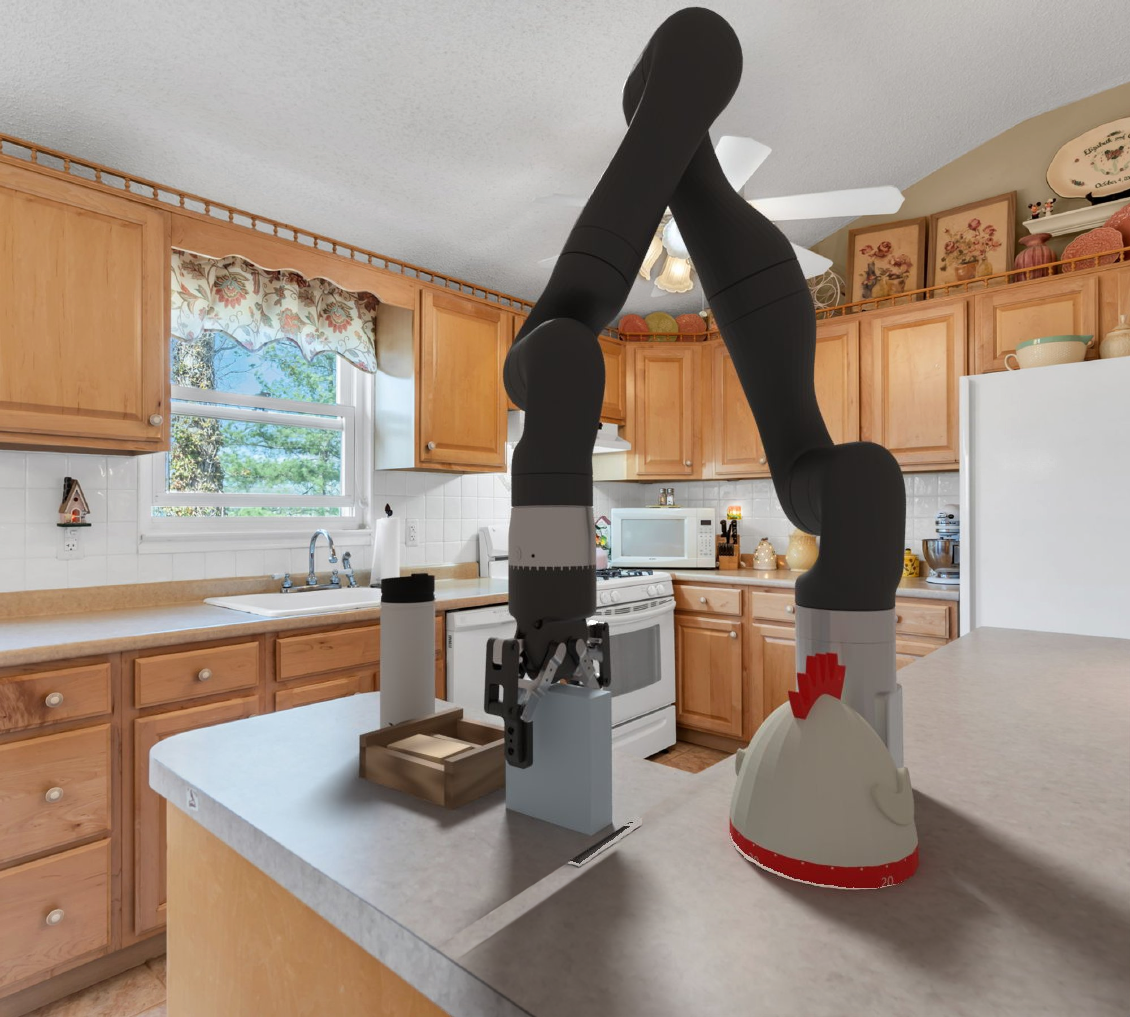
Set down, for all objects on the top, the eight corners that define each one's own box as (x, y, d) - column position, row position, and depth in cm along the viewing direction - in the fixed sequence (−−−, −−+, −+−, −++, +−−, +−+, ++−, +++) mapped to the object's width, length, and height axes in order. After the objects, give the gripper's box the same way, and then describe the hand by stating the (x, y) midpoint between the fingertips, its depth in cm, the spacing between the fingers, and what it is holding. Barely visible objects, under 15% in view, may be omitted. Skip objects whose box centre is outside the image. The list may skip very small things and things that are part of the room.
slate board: (612, 827, 56) (611, 691, 57) (591, 840, 54) (590, 698, 54) (528, 800, 62) (528, 677, 62) (505, 812, 59) (505, 683, 60)
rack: (547, 776, 69) (547, 726, 69) (452, 820, 59) (452, 762, 59) (456, 751, 77) (456, 707, 77) (359, 786, 67) (359, 734, 67)
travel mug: (396, 757, 75) (396, 574, 76) (370, 743, 80) (371, 572, 81) (446, 745, 79) (446, 572, 80) (419, 732, 84) (419, 569, 85)
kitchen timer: (945, 845, 54) (940, 654, 55) (874, 914, 45) (870, 682, 45) (782, 796, 64) (779, 635, 65) (695, 844, 55) (693, 654, 55)
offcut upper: (471, 762, 66) (471, 745, 66) (440, 775, 62) (440, 758, 62) (418, 749, 70) (418, 734, 70) (387, 761, 66) (387, 745, 66)
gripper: (532, 565, 51) (532, 788, 50) (634, 558, 62) (635, 739, 62) (460, 562, 55) (460, 766, 55) (567, 556, 67) (568, 725, 66)
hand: (553, 752), depth 58 cm, fingers open, 8 cm apart
